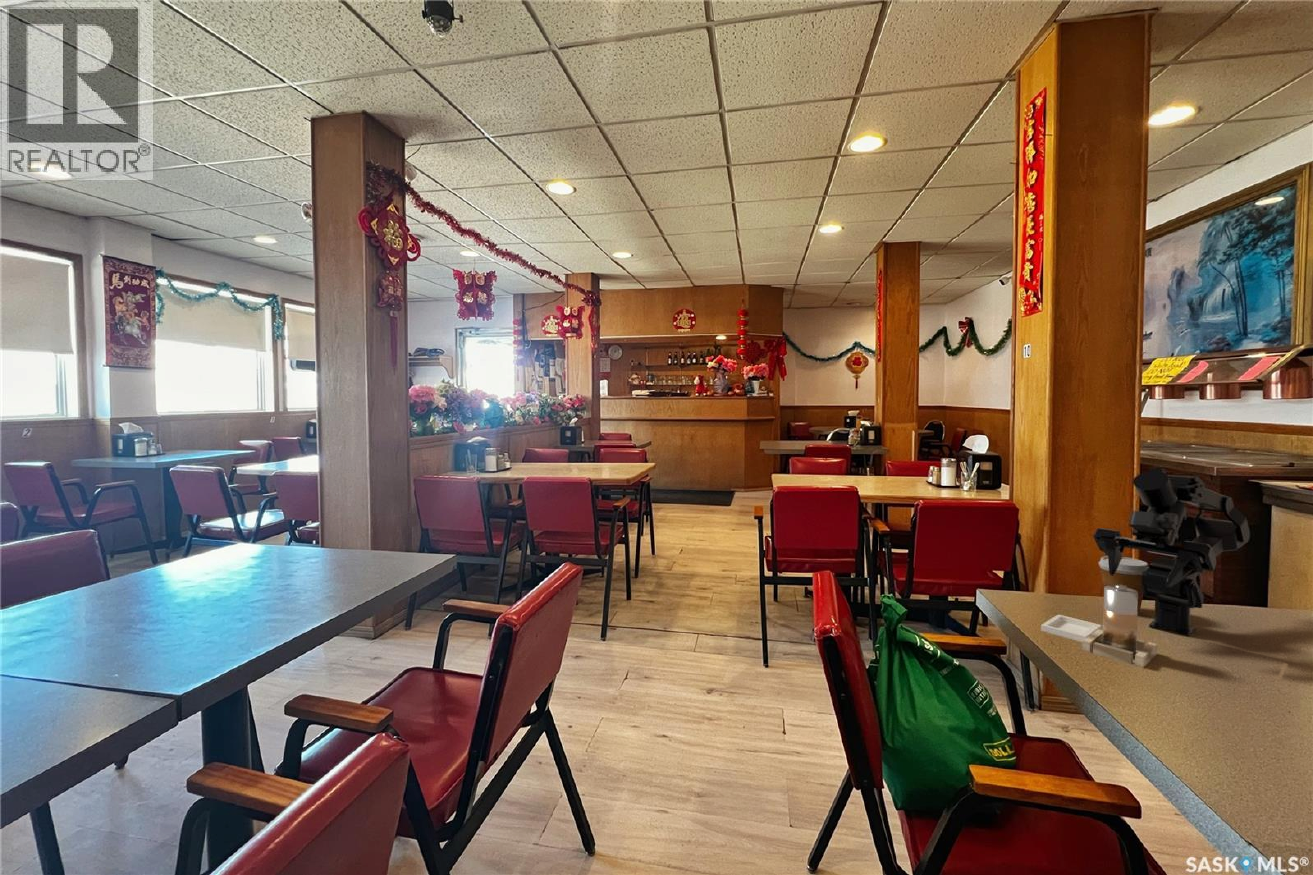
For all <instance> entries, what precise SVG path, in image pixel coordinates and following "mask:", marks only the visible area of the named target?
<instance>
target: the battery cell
mask: <svg viewBox="0 0 1313 875" xmlns="http://www.w3.org/2000/svg"><path fill="white" fill-rule="evenodd" d="M1137 608H1138V592H1137V591H1135V590H1133V589H1129V588H1127V586H1124V585H1115V586H1105V587H1104V589H1103V610H1102V611H1103V613H1102V615H1103V616H1102V630H1103V644H1104V645H1108V646H1112V647H1115V648H1119V649H1123V650H1127V651H1130V652H1133V658H1134V657H1135V655H1136V644H1137V639H1138V614H1139V613H1137Z"/></svg>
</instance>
